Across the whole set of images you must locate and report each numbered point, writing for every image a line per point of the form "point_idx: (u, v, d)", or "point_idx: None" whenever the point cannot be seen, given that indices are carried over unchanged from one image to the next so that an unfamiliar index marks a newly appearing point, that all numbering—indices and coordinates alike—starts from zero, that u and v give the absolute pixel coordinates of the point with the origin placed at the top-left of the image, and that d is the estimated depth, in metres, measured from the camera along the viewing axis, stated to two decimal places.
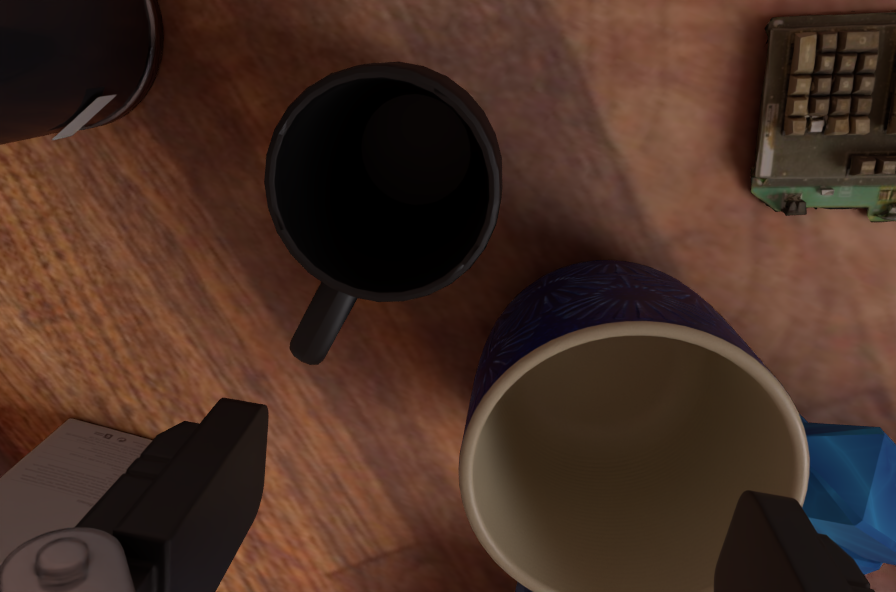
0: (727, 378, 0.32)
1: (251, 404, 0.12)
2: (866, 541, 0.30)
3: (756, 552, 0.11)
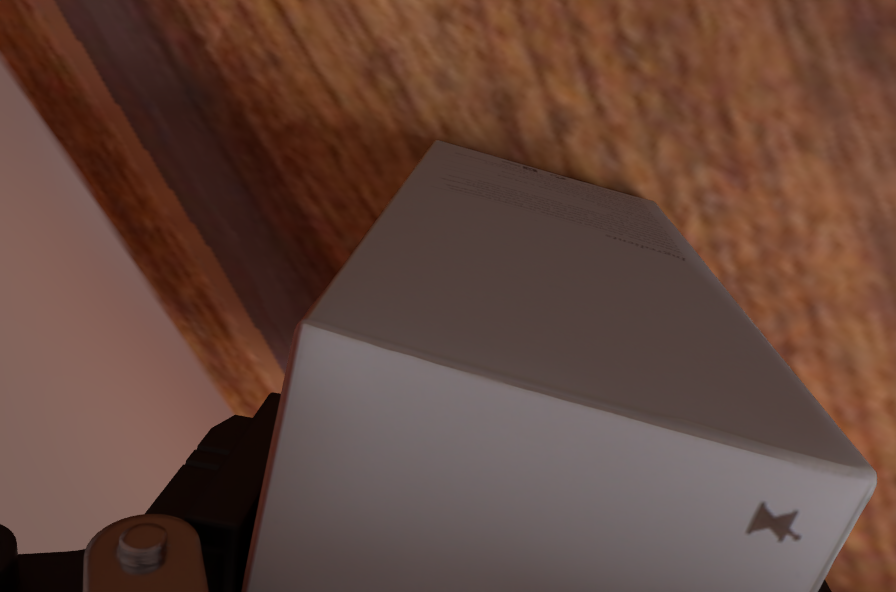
0: None
1: None
2: None
3: None
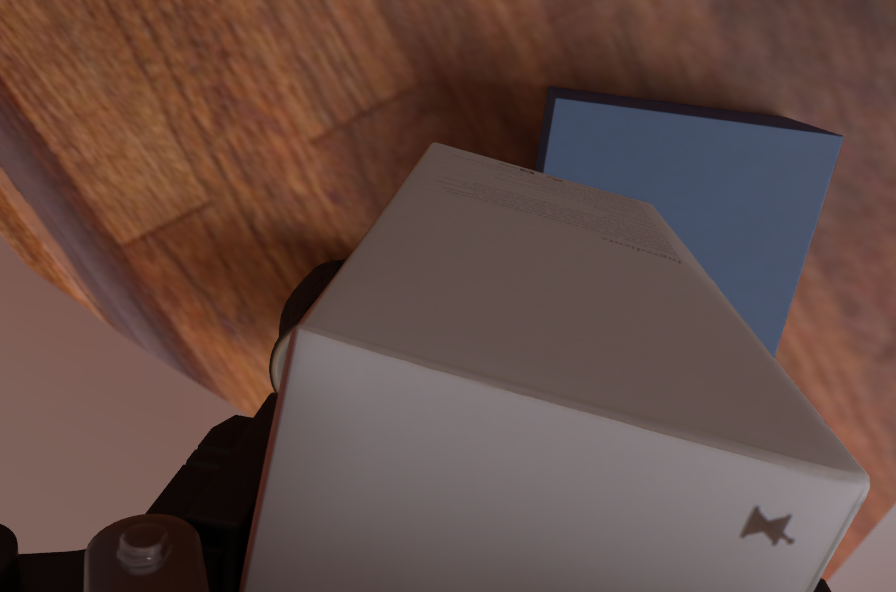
0: None
1: None
2: None
3: None
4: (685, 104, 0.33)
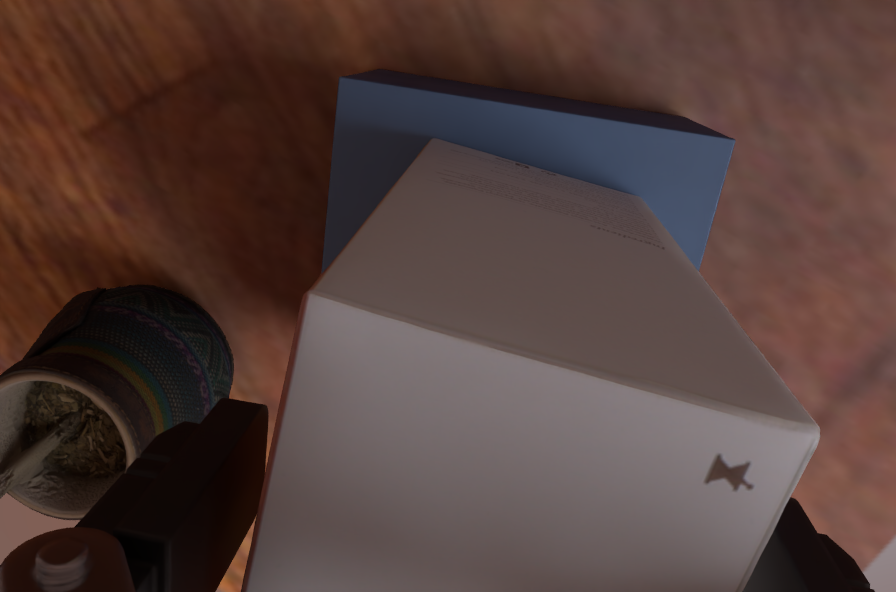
0: None
1: (251, 404, 0.12)
2: None
3: None
4: (552, 96, 0.25)
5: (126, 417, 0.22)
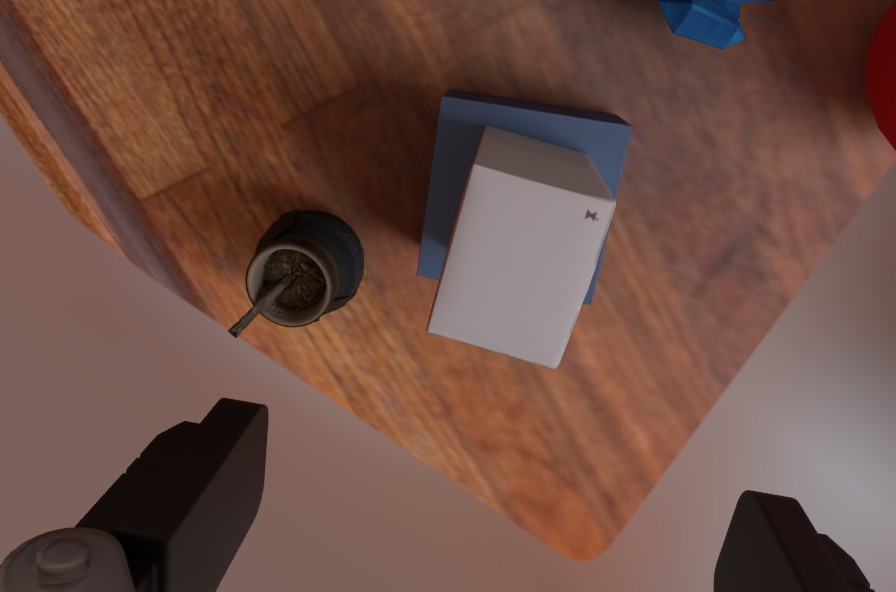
0: None
1: (251, 404, 0.12)
2: None
3: (756, 552, 0.11)
4: (545, 104, 0.46)
5: (328, 268, 0.43)
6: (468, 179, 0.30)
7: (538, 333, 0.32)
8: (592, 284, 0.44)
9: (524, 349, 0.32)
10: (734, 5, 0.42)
